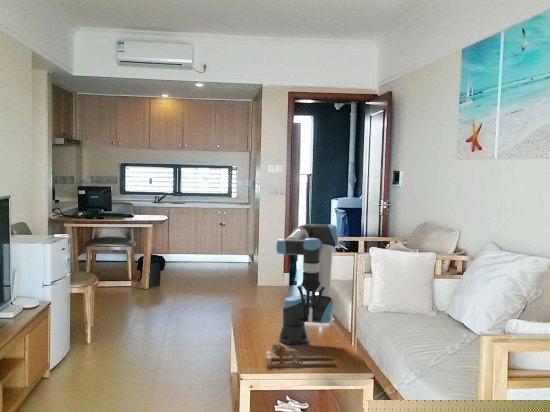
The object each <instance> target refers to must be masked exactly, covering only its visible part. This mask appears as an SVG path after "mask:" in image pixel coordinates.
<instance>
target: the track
mask: <svg viewBox="0 0 550 412" xmlns="http://www.w3.org/2000/svg"><path fill="white" fill-rule="evenodd" d="M271 353H272V352H271V350H266V351H265V362H266V368H305V367H306V368H307V367H308V368H313V367H315V368H317V367H318V368H320V367H321V368H322V367H324V368H325V367H327V368H328V367H329V368H330V367H335V368H336V367H337V363H336V362H303V363H301V362H299V363H298V362H288V363H287V362H286V363H285V362H282V363H278V362H276V361H279V360H280V357H278V356H272V354H271ZM299 357H300V360H301V361H333V360H334V356H299ZM297 359H298V360H299V358H298V356H297ZM300 360H299V361H300ZM272 361H275V362H273V363H272ZM283 361H294V358H293V357H292V356H290V357H283Z"/></svg>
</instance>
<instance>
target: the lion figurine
mask: <svg viewBox="0 0 550 412" xmlns="http://www.w3.org/2000/svg"><path fill="white" fill-rule="evenodd" d="M271 351H272V353H273V354H275V355H276V356H275V357H280V360H278V361H279V363H284V360H283V357H293V358H294V360H291V363H304V361H303V360H300V357H301V356H300V354H299V352H298V350H297V349H294V348H292V349H287V348H285V346H283V345H281V344H280V343H274V344H272V348H271ZM297 357H298V358H299V360H298V359H297Z"/></svg>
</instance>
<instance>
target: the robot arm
mask: <svg viewBox="0 0 550 412" xmlns="http://www.w3.org/2000/svg"><path fill="white" fill-rule="evenodd" d="M338 246H339V235H338V227H337V225H335V224H328V223H327V224H326V223H325V224H324V223H322V224H321V223H306V224H302V225H299V226H297V227H295V228H293V229H292V231H291V234H290V235H289V236H287V237H286V238H284V237H283V238H278V239H277V240H276V253H277V254H279V255H283V256H284V255H291V256H293V255H294V256H303V259H302V260H303V262H302V266H303V267H302V270H303V272H302V282H301V284H300V285H297V286H296V288H297V289H298V291H299V295H292V296H287V297H286V298H285V299H283V304H282V328H281V330H280V333H279V337H278V338H279V339H278V340H279V341H280V342H281V343H283V344H287V345H303V344H306V343H308V340H309V338H308V333H307V330H306V325H305V324H306V323H314V324H330V323H331V322H332V320H333V316H334V311H335V301H333V300H332V299H333V298H332V296H331V295H330V290H331V289H330V288H331V276H332V275H331V274H332V262H333V261H332V259H333V258H332V257H333V252H334V251H335V250H336V247H338ZM303 289H304V290H305V291H306V292H305V293H306V296H304V292H303Z"/></svg>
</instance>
